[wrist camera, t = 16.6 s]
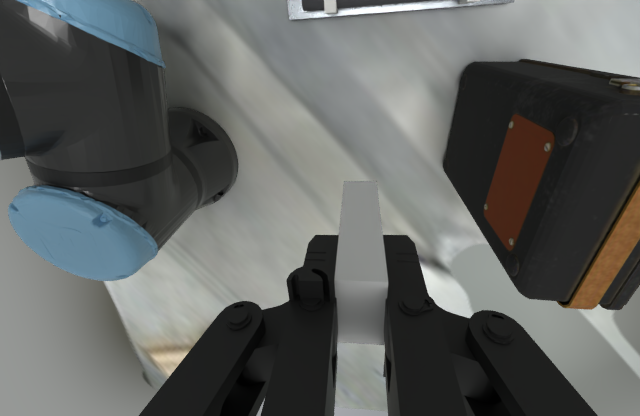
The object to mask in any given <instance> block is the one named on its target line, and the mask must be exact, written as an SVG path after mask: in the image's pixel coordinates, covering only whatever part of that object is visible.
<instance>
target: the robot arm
mask: <svg viewBox="0 0 640 416" xmlns="http://www.w3.org/2000/svg"><path fill="white" fill-rule="evenodd" d="M164 68H166V67H165V63H164V61H163V60H162V56H161V49H160V43H159V36H158V30H157V25H156V23H155V21H154V19H153V17H152V16H151V14H150V13H149V12H148V11H147V10H146V9H145V8H144V7H143V6H141V5H140V4H138V3H136V2H134V1H131V0H0V160H3V159H10V158H17V157H25V159H26V161H27V164H28V167H29V169H30V172H31V175H32V178H33V180H34V186H29V187H26V188H24V189H22V190H21V191H19V193H18V195H17V196H16V197H14V199H13V202H12V203H11V204H10V205H9V208H8V215H9V219H10V222H11V224H12V226H13V228H14V230H15V232H16V233H17V234H18V236H19V237H20V238H21V239H22V240H23V241H24V243H25V244H26V245H27V246H29V247H30V248H31V249H32V250H33V251H34V252H35V253H37V254H38V255H39V256H41V257H42V258H43V259H45V260H47V261H49V262H50V263H52V264H54V265H55V266H57V267H59V268H61V269H63V270H65V271H67V272H69V273H72V274H75V275H78V276H81V277H84V278H88V279H94V280H100V281H114V280H120V279H124V278H127V277H129V276H131V275H133V274H134V273H136V272H137V271H138V270H139V269H140V268H141V267H143V266H144V265H145V264H146V263H147V262H148V261H149V260H151V259H153V258H154V257H155V256H156V255H157V253H158V251H159V250H160V249H161V247H162V246H163V245H164V244H165V243H166V242H167V241H168V240H169V238H170V237H171V236H172V235H173V234H174V233H175V232H176V231H177V230H178V228H179V227H180V226H181V225H182V224H183V223H184V222H185V221H186V220H187V219H188V217H189V216H190V215H191V214H192V213H193V212H194V211H195V210H197V209H199V208H202V207H205V206H207V205H210V204H212V203H215V202H216V201H218V200H219V199H221V198H222V197H223V196H224V195H225V194H226V193H227V192H228V191H229V189H230V188H231V187H232V185H233V184H234V182H235V179H236V177H237V172H238V160H237V155H236V151H235V149H234V146H233V144H232V142H231V140H230V138H229V137H228V135H227V134H226V133H225V131H224V130H223V129H222V128H221V127H220V126H219V125H218V124H217V123H216V122H214V121H213V120H212V119H210V118H209V117H207V116H206V115H204V114H202V113H200V112H198V111H195V110H192V109H188V108H169V109H168V106H167V96H166V86H165V76H164ZM287 287H288V293H289V299H290V300H289V301H288V302H286V303H284V304H282V305H280V306H277V307H273V308H268V309H264V310H261V308H260V307H259V306H258V305H257V304H255V303H253V302H249V301H241V302H237V303H234V304H232V305H230V306H228V307H226V308H225V309H224V310H223V311H222V312H221V313H220V314H219V315H218V316H217V317H216V319H215V320H214V321H213V323H212V324H211V325H210V326H209V328H208V329H207V330H206V331H205V333H204V334H203V335H202V336H201V338H200V339H199V340H198V341H197V343H196V344H195V345H194V347H193V348H192V349H191V350H190V352H189V353H188V354H187V355H186V357H185V358H184V359H183V360H182V362H181V363H180V364H179V365H178V367H177V368H176V369H175V371H174V372H173V373H172V374H171V376H170V377H169V378H168V379H167V381H166V382H165V383H164V384H163V386H162V387H161V388H160V389H159V391H158V392H157V393H156V395H155V396H154V397H153V398H152V400H151V401H150V402H149V403H148V405H147V406H146V407H145V408H144V410H143V411H142V412H141V413H140V415H139V416H256V415H257V413H258V411H259V408H260V406H261V404H262V402H263V400H264V398H265V401H264V405H263V409H262V413H261V416H334V406H335V390H336V374H337V342H340V343H357V344H374V345H384V342H385V361H384V374H383V377H386V390H387V404H388V416H597V414H596V413H595V412H594V411H593V410H592V409H591V407H590V406H589V405H588V404H587V403H586V402H585V400H584V399H583V398H582V397H581V396H580V394H579V393H578V392H577V391H576V390H575V389H574V387H573V386H572V385H571V384H570V383H569V381H568V380H567V379H566V378H565V377H564V376H563V374H562V373H561V372H560V371H559V370H558V369H557V367H556V366H555V365H554V364H553V363H552V361H551V360H550V359H549V358H548V357H547V356H546V354H545V353H544V352H543V351H542V350H541V349H540V347H539V346H538V345H537V344H536V343H535V341H533V339H532V338H531V337H530V336H529V334H528V333H527V332H526V331H525V330H524V328H523V327H522V326H521V325H519V324H518V323H517V322H516V321H515V320H514V319H512V318H510V317H508V316H507V315H505V314H503V313H499V312H496V311H488V310H485V311H484V310H482V311H479V312H477V313H474V314H473V315H472V317H471V318H470V319H469V318H466V317H463V316H459V315H456V314H453V313H450V312H447V311H445V310H443V309H442V308H440V307H439V306H437V305H436V304H435V302H434V300H433V299H432V298H431V297H429V295H428V292H427V289H426V285H425V281H424V277H423V274H422V270H421V266H420V263H419V258H418V255H417V251H416V247H415V243H414V242H413V241H412V240H411V239H410V238H409V237H408V236H407V235H383V232H382V224H381V215H380V207H379V198H378V190H377V181H344V188H343V198H342V208H341V218H340V228H339V235H315V236H314V238H313V239H312V240H311V241H310V242H309V244H308V248H307V253H306V257H305V261H304V265H303V267H300V268H298V269H296V270H294V271H293V272H292V273H291V274H290V275H289V277H288V278H287ZM265 396H266V397H265Z"/></svg>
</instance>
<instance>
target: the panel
mask: <svg viewBox="0 0 640 416" xmlns="http://www.w3.org/2000/svg"><path fill="white" fill-rule="evenodd" d="M287 1H288V12H289V20H302V19H315V18H327V17H340V16H353V15H366V14H379V13H391V12H404V11H417V10H430V9H442V8H455V7H468V6H481V5H494V4H506V3H511V2H514V0H480V1H477V2H473V3H467V4H458V1H459V0H437V1H425V2H413V3H400V4H388V5H376V6H364V7H351V8H339V9H338V14H328V15H327V14H325V11H324V10H315V11H303V7H302V1H301V0H287Z"/></svg>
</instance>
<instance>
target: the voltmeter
mask: <svg viewBox="0 0 640 416" xmlns="http://www.w3.org/2000/svg"><path fill="white" fill-rule="evenodd" d="M443 167H444V171H445V173H446V174H447V176H448V178H449V179H450V181H451V183H452V184H453V186H454V188H455V189H456V191H457V192H458V194H459V196H460V197H461V199H462V201H463V202H464V204H465V205H466V207H467V209H468V210H469V212H470V214H471V215H472V217H473V219H474V220H475V222H476V223H477V225H478V227H479V228H480V230H481V232H482V233H483V235H484V236H485V238H486V240H487V241H488V243H489V245H490V246H491V248H492V249H493V251H494V253H495V254H496V256H497V257H498V259H499V261H500V263H501V264H502V266H503V267H504V269H505V271H506V272H507V274H508V275H509V277H510V279H511V281H512V282H513V283H514V285H515V287H516V288H517V290H518V291H519V292H520V293H521V294H522V295H524V296H525V297H527V298H529V299H538V300H551V301H557V302H558V304H559V305H561V306H562V307H564V308H574V309H593V308H595V307H596V306H597V305H598V304H600V306H601V307H602V308H605V309H607V310H620V309H622V308H623V306H624V305H626V304H627V302H628V301H629V299H630V298H631V297H632V295H633V294H634V292H635V291H636V289H637V288H638V287H639V285H640V78H638V77H632V76H626V75H620V74H614V73H607V72H601V71H595V70H589V69H583V68H577V67H571V66H565V65H559V64H553V63H547V62H541V61H535V60H529V59H521V60H520V61H519V62H473V63H471V64H470V65H468V67H467V68H466V69H465V71H464V73H463V77H462V78H461V82H460V91H459V96H458V101H457V106H456V110H455V115H454V120H453V125H452V129H451V134H450V139H449V144H448V148H447V153H446V158H445V160H444V163H443Z"/></svg>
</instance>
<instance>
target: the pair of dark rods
mask: <svg viewBox="0 0 640 416" xmlns="http://www.w3.org/2000/svg"><path fill="white" fill-rule="evenodd" d="M301 1H302V7H303V11H315V10H324V11H325V14H327V15H328V14H338V9H339V8H351V7H364V6H376V5H388V4H400V3H413V2H425V1H437V0H301ZM477 1H480V0H459V1H458V4H467V3H473V2H477Z"/></svg>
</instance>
